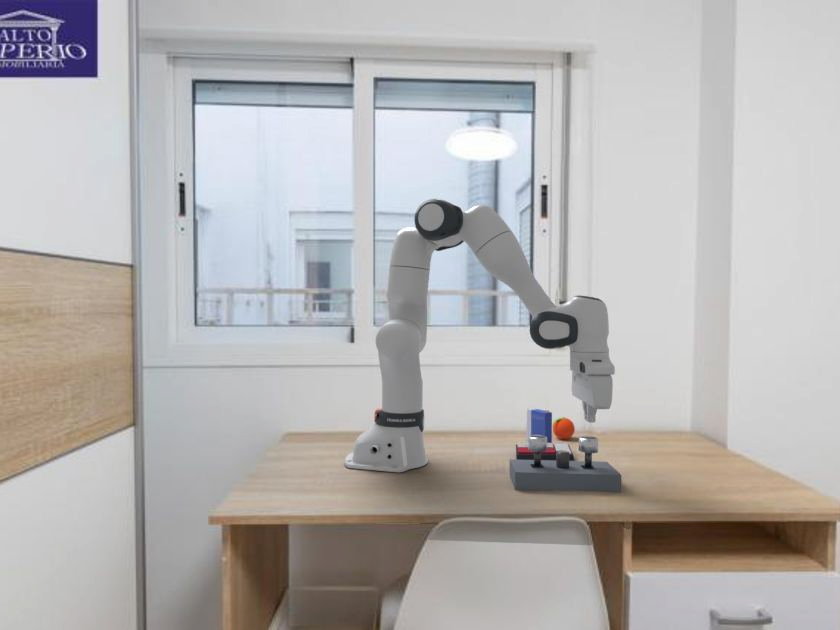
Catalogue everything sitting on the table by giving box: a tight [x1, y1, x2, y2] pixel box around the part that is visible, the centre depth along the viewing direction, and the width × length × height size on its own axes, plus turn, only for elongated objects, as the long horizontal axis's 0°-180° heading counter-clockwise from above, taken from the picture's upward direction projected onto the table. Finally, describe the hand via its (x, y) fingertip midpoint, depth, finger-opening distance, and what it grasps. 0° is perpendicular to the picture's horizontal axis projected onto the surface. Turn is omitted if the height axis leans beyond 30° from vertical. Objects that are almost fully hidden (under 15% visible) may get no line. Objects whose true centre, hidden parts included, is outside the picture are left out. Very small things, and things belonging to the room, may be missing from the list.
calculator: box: [515, 442, 575, 461], centre depth 135 cm, size 11×4×15 cm
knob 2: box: [578, 435, 599, 468], centre depth 116 cm, size 4×4×7 cm
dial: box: [556, 450, 569, 469], centre depth 116 cm, size 3×3×4 cm
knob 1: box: [528, 435, 547, 467], centre depth 116 cm, size 4×4×7 cm
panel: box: [509, 459, 622, 493], centre depth 116 cm, size 24×10×4 cm, turn 87°
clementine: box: [552, 417, 576, 440], centre depth 158 cm, size 8×7×7 cm
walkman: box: [526, 407, 553, 443], centre depth 146 cm, size 8×3×12 cm, turn 31°
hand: (589, 421), depth 116 cm, fingers closed
